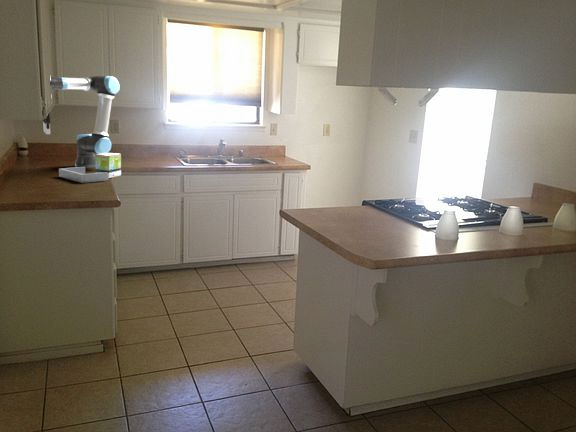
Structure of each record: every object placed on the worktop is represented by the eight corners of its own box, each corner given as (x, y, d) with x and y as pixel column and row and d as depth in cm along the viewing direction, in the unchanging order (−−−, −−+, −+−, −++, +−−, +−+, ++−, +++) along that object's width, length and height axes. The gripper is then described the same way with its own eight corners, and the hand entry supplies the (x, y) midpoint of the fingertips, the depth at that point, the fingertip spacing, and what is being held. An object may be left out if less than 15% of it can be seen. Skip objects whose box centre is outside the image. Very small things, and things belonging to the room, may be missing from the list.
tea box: (109, 178, 332) (109, 155, 329) (95, 177, 334) (94, 154, 331) (121, 175, 346) (121, 153, 343) (107, 174, 348) (107, 152, 345)
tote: (84, 174, 343) (84, 166, 342) (108, 180, 324) (107, 172, 323) (59, 176, 330) (58, 168, 329) (82, 183, 312) (82, 174, 311)
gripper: (36, 98, 335) (38, 131, 340) (40, 99, 314) (42, 135, 319) (49, 98, 339) (51, 131, 344) (53, 99, 318) (55, 135, 323)
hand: (47, 133), depth 331 cm, fingers open, 13 cm apart
